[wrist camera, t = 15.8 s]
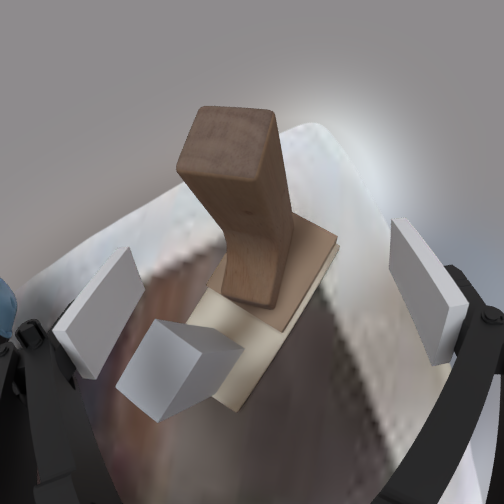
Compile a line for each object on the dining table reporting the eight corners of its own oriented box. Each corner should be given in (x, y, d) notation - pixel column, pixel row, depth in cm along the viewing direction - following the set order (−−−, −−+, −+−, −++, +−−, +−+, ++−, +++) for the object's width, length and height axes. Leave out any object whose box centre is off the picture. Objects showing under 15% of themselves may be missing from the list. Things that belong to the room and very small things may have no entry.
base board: (168, 360, 35) (152, 361, 32) (263, 209, 38) (258, 194, 34) (239, 410, 32) (230, 418, 29) (338, 249, 35) (341, 238, 32)
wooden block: (274, 311, 31) (231, 274, 14) (230, 300, 32) (142, 253, 15) (294, 224, 33) (276, 107, 16) (252, 216, 34) (198, 102, 17)
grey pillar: (185, 372, 33) (115, 386, 20) (214, 328, 34) (155, 318, 21) (215, 393, 32) (157, 423, 19) (245, 348, 33) (202, 353, 20)
